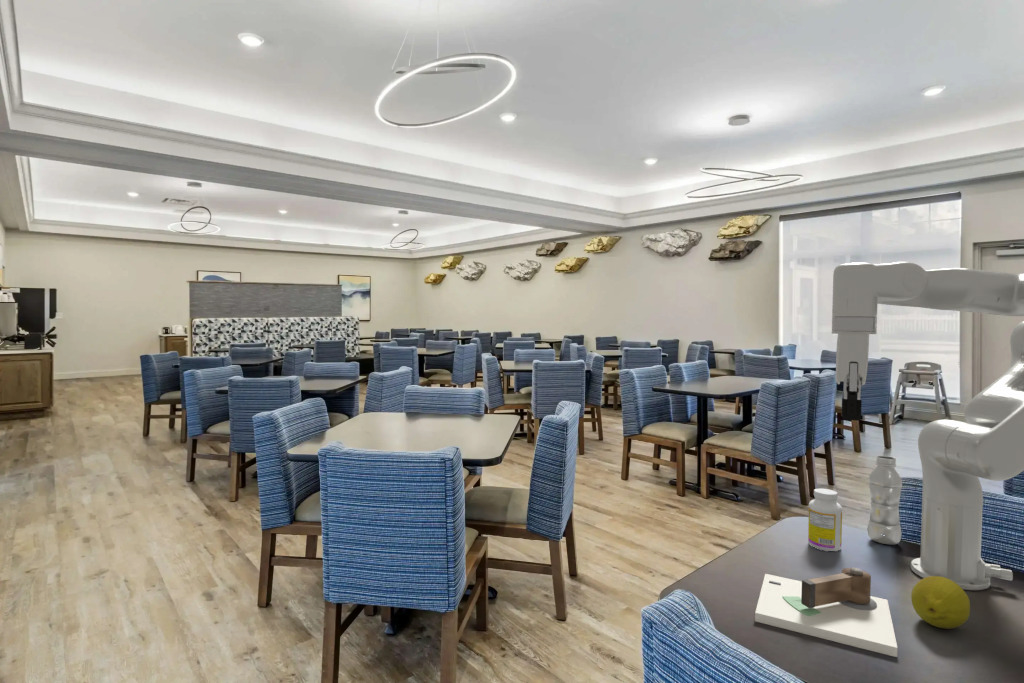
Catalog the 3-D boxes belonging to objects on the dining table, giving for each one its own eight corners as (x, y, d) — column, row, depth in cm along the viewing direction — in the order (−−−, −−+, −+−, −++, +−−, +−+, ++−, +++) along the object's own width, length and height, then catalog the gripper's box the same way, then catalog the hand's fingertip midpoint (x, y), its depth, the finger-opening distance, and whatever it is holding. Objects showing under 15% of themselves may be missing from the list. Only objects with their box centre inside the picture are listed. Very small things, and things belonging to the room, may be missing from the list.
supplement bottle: (823, 539, 130) (824, 485, 130) (848, 550, 124) (849, 494, 124) (801, 543, 128) (802, 488, 128) (825, 554, 122) (827, 497, 121)
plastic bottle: (906, 549, 125) (909, 461, 124) (873, 546, 126) (876, 460, 126) (893, 538, 131) (895, 455, 131) (861, 536, 133) (864, 453, 132)
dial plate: (887, 607, 99) (887, 598, 99) (897, 657, 84) (897, 646, 84) (765, 581, 109) (765, 572, 109) (755, 621, 94) (755, 611, 94)
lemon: (926, 607, 99) (928, 563, 99) (980, 627, 93) (982, 581, 92) (896, 623, 94) (898, 577, 94) (951, 646, 87) (953, 597, 87)
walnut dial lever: (853, 590, 101) (854, 563, 101) (876, 601, 97) (877, 573, 97) (795, 601, 97) (795, 573, 97) (816, 614, 93) (816, 585, 92)
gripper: (831, 326, 117) (829, 412, 117) (831, 326, 104) (829, 423, 104) (874, 326, 113) (871, 415, 114) (879, 327, 100) (876, 427, 101)
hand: (851, 419), depth 109 cm, fingers closed
